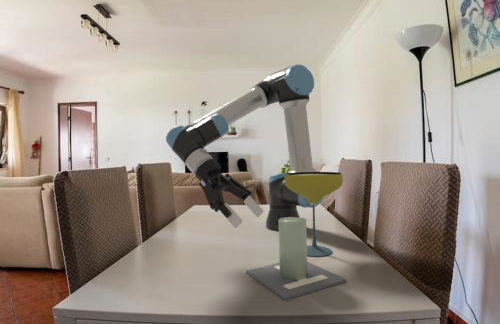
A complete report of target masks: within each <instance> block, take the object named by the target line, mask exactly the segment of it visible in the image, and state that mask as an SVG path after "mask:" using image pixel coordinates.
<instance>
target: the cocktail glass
mask: <svg viewBox="0 0 500 324" xmlns="http://www.w3.org/2000/svg"><path fill="white" fill-rule="evenodd" d="M286 173H287V174H285V185H286V186H287V187H288V188H289V189H290V190H291V191H293V192H295V193H297V194H299V195H301V196H302V197H304V198H306V199H307V200H308V202H309V203H310V204H311V205H313V208H312V242H311V243H312V244H311V245H307V257H312V258H321V257H327V256H330V255H331V254H332V253H333V251H332V249H331V248H329V247H326V246H321V245H318V244H317V239H316V218H315V217H316V214H315V213H316V210H315V208H316V207H315V205H316V204H317V203H318V202H319V201H320V199H321V198H323V197H324V198H325V197H326V196H328V195H331V194H332V193H335V192H336V191H337V190H339V189H340V188H341V186H342V185H343V180H344V179H343V173H341V172H334V171H317V172H296V173H288V172H286ZM324 198H323V199H324Z"/></svg>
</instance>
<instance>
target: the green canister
mask: <svg viewBox="0 0 500 324" xmlns="http://www.w3.org/2000/svg"><path fill="white" fill-rule="evenodd" d="M299 217H300V216H299ZM299 217H285V218H280V219H279V220H278V221H279V230H278V255H279V256H278V257H279V258H278V259H279V261H278V263H279V264H280V276H281V277H282V278H285V279H288V280H301V279H304V278H306V277H307V262H308V256H307V246H308V241H307V239H308V238H307V236H308V235H307V219H306V218H305V217H304V218H303V217H300V218H299Z"/></svg>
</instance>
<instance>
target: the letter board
mask: <svg viewBox="0 0 500 324" xmlns="http://www.w3.org/2000/svg"><path fill="white" fill-rule="evenodd" d="M245 274H247V275H248V276H250V277H251V278H252V279H254V280H255V281H257V282H258V283H260V284H261V285H263V286H264V287H265V288H267V289H268V290H270V291H271V292H273V293H274V294H276V295H277V296H278V297H280V298H282V300H284V301H286V300H290V299H294V298H297V297H300V296H303V295H306V294H307V295H308V294H311V293H313V292H317V291H320V290H323V289H326V288H329V287H333V286H337V285H339V284H343V283H347V279H346V278H344V277H343V276H340V275H337V274H336V273H334V272H331V271H329V270H327V269H324V268H322V267H320V266H318V265H315V264H313V263H311V262H310V261H307V277H306V278H304V279H301V280H288V279H285V278H282V277H281V276H280V264H279V262H278V263H274V264H273V263H272V264H268V265H264V266H259V267H255V268H251V269H248V270H247V269H246V270H245Z"/></svg>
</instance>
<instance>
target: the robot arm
mask: <svg viewBox="0 0 500 324" xmlns="http://www.w3.org/2000/svg"><path fill="white" fill-rule="evenodd" d="M314 88H315V78H314V76H313V73H312V72H311V70H309V69H308V67H306V66H305V65H302V64H294V65H289V66H287V67H285V68H283V69H280V70H278V71H276V72H273V73H271V74H270V75H268V76H267V77H265V78H264V79H263V80H261V81H259V82H258V83H257V84H254V85H253V86H251V87H250V90H249V91H247V92H245V93H244V94H241V95H240V96H238V97H236V98H235V99H232V100H231V101H229V102H227V103H225V104H223V105H222V106H220V107H218V108H216V109H214V110H212V111H211V112H209V113H208V114H206V115H203V116H202V117H200V118H199V119H196V120H195V121H193V122H189V123H188V124H186V125H181V124H180V125H176V126H174V127H172V128H171V129H170V130H169V131H168V133H167V134H166V137H165V141H166V143H167V145H168V146H169V147H170V149H171V150H172V151H173V152H174V153H175V155H176V156H177V157H178V158H179V159H180V160H181V161H182V162H183V163H184V165H185V166H186V167H187V168H188V170H189V171H190V172H191V173H192V174H193V175H195V178H196V179H197V180H198V182H199V183H198V184H199V186H200V187H201V189H202V191H203V193H204V196H205V198H206V200H207V202H208V206H209V207H210V209H211V210H213V211H215V212H216V213H218V212H219V211H220V213H221V214H222V215H223V216H224V217H225V218H226V220H227V221H228V222H229V223H230V224H231V225H232V227H234V229H237V228H238V227H239V226H240V225H241V224H242V223H243V222H244V221H243V219H242V218H241V217H240V216H239V215H238V214H237V212H236V211H235V210H234V209H233V208H232V207H231V205H229V203H228V202H226V203H225V201H224V200H225V199H224V196H223V192H226V193H228V192H229V193H230V194H232V195H234V196H236V197H237V198H239V199H240V200H242V201H243V204H245V206H246V207H247V208H248V209H249V210H250V211H251V212H252V213H253V215H255V217H256V218H259V217H260V216H261V215H262V214H263V213H264V212H265V210H263V208H262V207H261V206H260V205H259V204H258V203H257V202H256V201H255V200H254V199H253V198H252V196H251V195H252V194H253V193H252V191H251V190H249V189H248V188H246V187H245V186H244V185H243V184H241V183H240V182H238V181H237V180H236V179H235V178H233V177H232V176H231V175H230V174H229V173H226V174H225V175H223V174H222V172H221V170H222V167H221V165H220V164H219V163H218V162H217V161H216V160H215V159H213V157H212V155H211V154H210V153H209V152H208V150H207V149H206V148H205V147H207V146H209V145H210V144H212V143H214V142H215V141H217V140H218V139H221V138H223V137H224V135H226V134H227V133H228V132H229V129H230V127H229V126H230V125H232V124H234V123H235V122H237V121H239V120H240V119H242V118H244V117H246V116H247V115H249V114H250V113H252V112H254V111H256V110H257V109H260V108H261V109H264V108H266V107H268V106H270V105H273V104H276V103H278V105H279V106H280V107H281V108H282V109H283V114H284V124H285V131H286V140H287V141H286V142H287V148H288V149H287V150H288V157H289V168H290V170H289V171H288V172H282V173H276V174H271V175H269V178H268V195H269V197H268V198H269V199H268V201H269V210H268V213H267V217H266V221H265V228H266V229H269V230H272V231H279V221H278V220H279V219H280V218H285V217H299V218H301V217H300V215H299V212H298V208H297V207H301V208H311V209H313V205H311V204H310V203H309V202H308V200H307V199H306V198H304V197H302V196H301V195H299V194H297V193H295V192H293V191H291V190H290V189H289V188H288V187H287V186H286V185H285V174H287V173H296V172H318V171H317V169H315V168H314V167H313V166H314V165H313V158H312V150H311V149H312V148H311V140H310V130H309V121H308V112H307V110H308V109H307V105H308V103H309V102H310V94H311V93H312V92H313V89H314ZM324 198H325V197H323V198H321V199H320V201H319V202H318V203H317V204H316V205H315V208H316V207H317V206H319V205H320V204H321V202H322V201H323V199H324Z"/></svg>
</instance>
